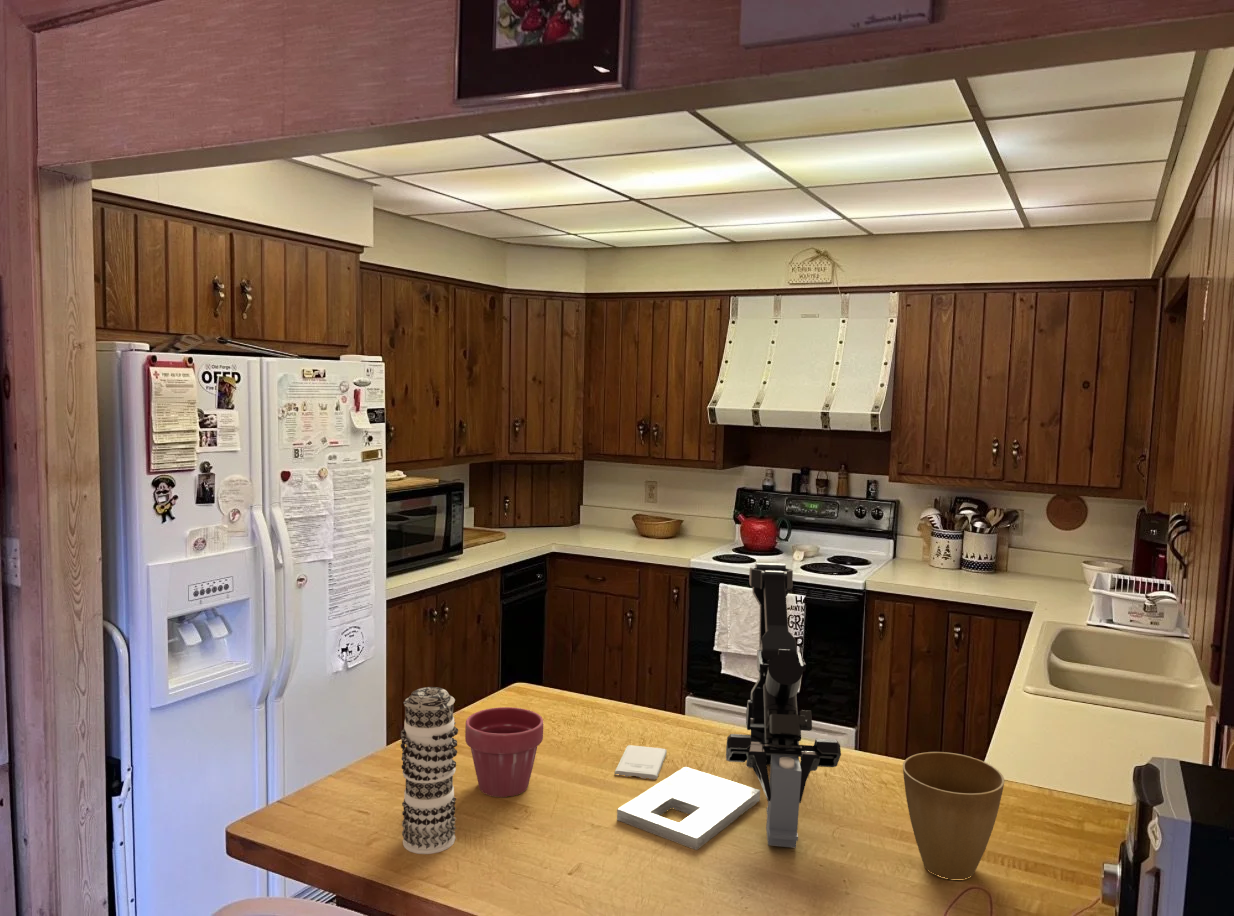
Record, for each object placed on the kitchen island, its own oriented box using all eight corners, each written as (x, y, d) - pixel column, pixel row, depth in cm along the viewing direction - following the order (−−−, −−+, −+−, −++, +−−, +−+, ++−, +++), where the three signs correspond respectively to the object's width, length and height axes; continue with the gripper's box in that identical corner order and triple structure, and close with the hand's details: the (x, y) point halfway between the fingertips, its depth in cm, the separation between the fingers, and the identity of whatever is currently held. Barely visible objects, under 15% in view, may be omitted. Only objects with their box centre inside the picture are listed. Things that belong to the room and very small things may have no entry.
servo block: (765, 822, 155) (771, 744, 154) (792, 825, 155) (798, 746, 154) (768, 850, 146) (774, 767, 145) (796, 853, 146) (802, 770, 145)
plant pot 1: (533, 766, 178) (533, 702, 177) (550, 798, 164) (551, 729, 163) (459, 775, 173) (459, 709, 172) (471, 808, 160) (472, 738, 159)
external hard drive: (666, 756, 185) (656, 782, 173) (627, 752, 187) (614, 777, 175) (666, 748, 185) (656, 774, 173) (627, 744, 187) (614, 769, 175)
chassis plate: (684, 776, 175) (685, 766, 174) (759, 800, 165) (760, 790, 165) (616, 820, 157) (617, 808, 157) (696, 850, 147) (696, 838, 147)
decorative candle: (457, 825, 154) (458, 681, 152) (457, 853, 145) (458, 700, 143) (402, 828, 153) (402, 683, 150) (398, 857, 143) (398, 703, 141)
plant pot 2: (905, 836, 153) (910, 744, 152) (1001, 858, 147) (1007, 762, 145) (890, 879, 140) (895, 779, 138) (995, 906, 133) (1001, 801, 132)
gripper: (728, 687, 153) (729, 780, 143) (841, 693, 152) (849, 787, 142) (725, 715, 162) (726, 804, 152) (832, 721, 160) (839, 811, 150)
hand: (784, 801), depth 149 cm, fingers closed on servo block, 5 cm apart
